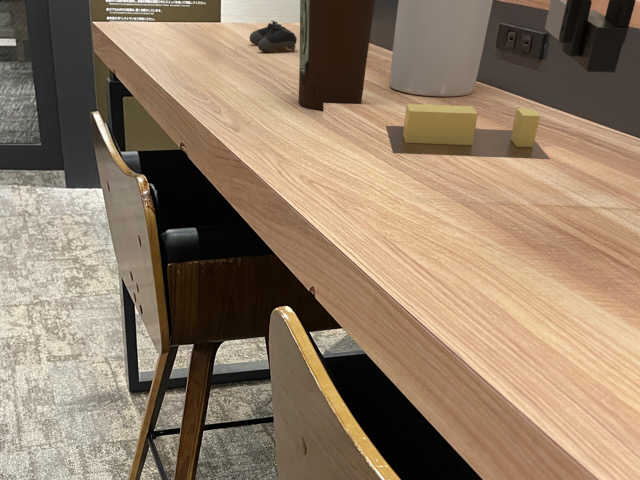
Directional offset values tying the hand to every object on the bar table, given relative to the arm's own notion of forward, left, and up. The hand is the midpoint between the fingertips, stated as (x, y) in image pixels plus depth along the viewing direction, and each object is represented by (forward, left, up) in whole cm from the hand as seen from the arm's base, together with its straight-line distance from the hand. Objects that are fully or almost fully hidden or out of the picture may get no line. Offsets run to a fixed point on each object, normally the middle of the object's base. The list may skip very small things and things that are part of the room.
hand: (588, 52), depth 68 cm
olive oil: (+20, -57, -15) cm, 62 cm away
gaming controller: (+30, -109, -15) cm, 115 cm away
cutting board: (+4, -30, -15) cm, 34 cm away
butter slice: (-3, -30, -14) cm, 33 cm away
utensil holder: (+3, -72, -15) cm, 74 cm away
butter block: (+7, -30, -14) cm, 34 cm away
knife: (0, -6, 0) cm, 6 cm away
